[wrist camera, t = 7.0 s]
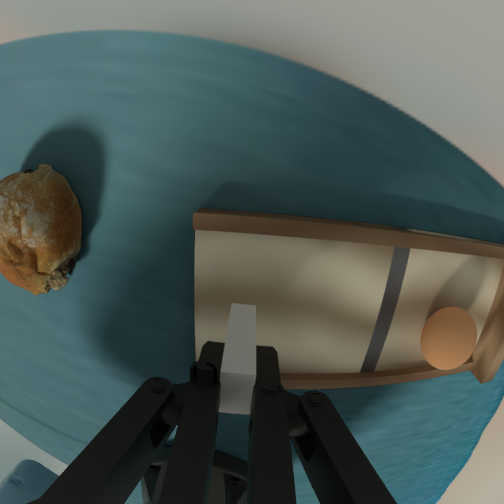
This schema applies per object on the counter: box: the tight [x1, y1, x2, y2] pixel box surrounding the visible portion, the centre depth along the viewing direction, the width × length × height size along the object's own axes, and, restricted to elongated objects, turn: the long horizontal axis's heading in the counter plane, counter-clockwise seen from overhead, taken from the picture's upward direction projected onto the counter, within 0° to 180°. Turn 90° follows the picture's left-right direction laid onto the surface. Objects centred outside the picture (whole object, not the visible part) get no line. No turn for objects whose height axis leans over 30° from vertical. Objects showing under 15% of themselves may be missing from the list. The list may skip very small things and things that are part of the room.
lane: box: [193, 208, 504, 389], centre depth 18 cm, size 13×29×4 cm, turn 86°
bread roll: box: [0, 164, 82, 295], centre depth 16 cm, size 10×10×8 cm
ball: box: [420, 307, 477, 370], centre depth 17 cm, size 5×5×5 cm
